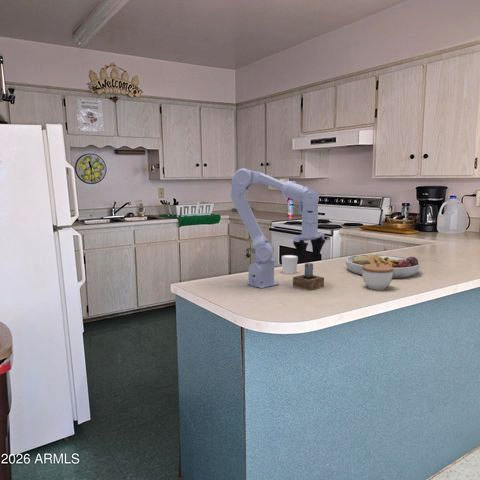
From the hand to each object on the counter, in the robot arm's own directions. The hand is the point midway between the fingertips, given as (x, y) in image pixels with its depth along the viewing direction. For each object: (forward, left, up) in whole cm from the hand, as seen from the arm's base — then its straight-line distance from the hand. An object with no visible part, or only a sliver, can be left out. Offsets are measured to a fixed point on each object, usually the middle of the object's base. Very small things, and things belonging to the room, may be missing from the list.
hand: (308, 259), depth 153 cm
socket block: (-1, -1, -10) cm, 10 cm away
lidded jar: (+17, -18, -10) cm, 27 cm away
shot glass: (+11, +20, -10) cm, 25 cm away
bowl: (+43, -4, -10) cm, 44 cm away
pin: (-1, -1, -9) cm, 10 cm away
